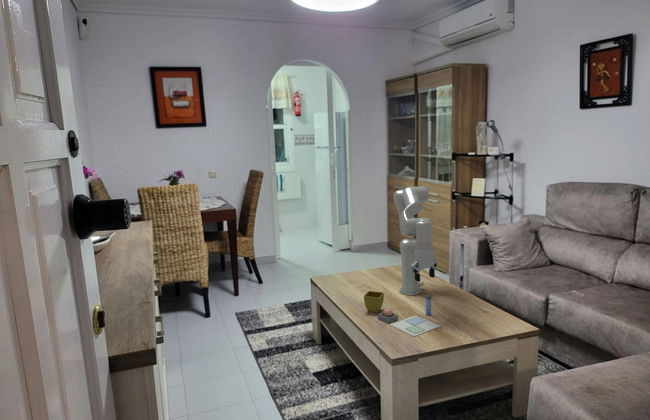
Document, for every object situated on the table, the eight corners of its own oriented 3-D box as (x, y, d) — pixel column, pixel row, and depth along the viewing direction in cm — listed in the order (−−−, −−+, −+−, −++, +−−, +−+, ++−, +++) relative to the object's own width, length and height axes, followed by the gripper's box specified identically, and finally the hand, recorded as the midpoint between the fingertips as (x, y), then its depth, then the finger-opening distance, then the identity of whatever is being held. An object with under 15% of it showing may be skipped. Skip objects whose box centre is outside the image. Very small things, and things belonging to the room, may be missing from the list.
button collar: (388, 315, 223) (388, 310, 223) (398, 319, 218) (398, 314, 217) (378, 318, 220) (378, 314, 219) (387, 323, 214) (387, 318, 213)
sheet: (415, 316, 221) (415, 315, 221) (440, 326, 208) (440, 325, 207) (390, 325, 212) (390, 324, 211) (414, 336, 198) (414, 335, 198)
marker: (428, 313, 224) (428, 294, 222) (432, 314, 221) (432, 296, 219) (424, 314, 222) (423, 295, 220) (428, 316, 219) (428, 297, 218)
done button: (388, 312, 221) (388, 307, 221) (394, 314, 218) (394, 309, 217) (381, 314, 219) (381, 309, 218) (387, 317, 215) (387, 312, 215)
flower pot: (385, 308, 233) (384, 292, 231) (379, 314, 225) (379, 298, 223) (369, 306, 236) (368, 290, 235) (363, 312, 228) (363, 296, 227)
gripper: (431, 241, 224) (432, 273, 226) (405, 247, 215) (406, 280, 217) (442, 244, 217) (442, 277, 220) (416, 249, 208) (417, 284, 211)
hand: (424, 278), depth 219 cm, fingers open, 9 cm apart
